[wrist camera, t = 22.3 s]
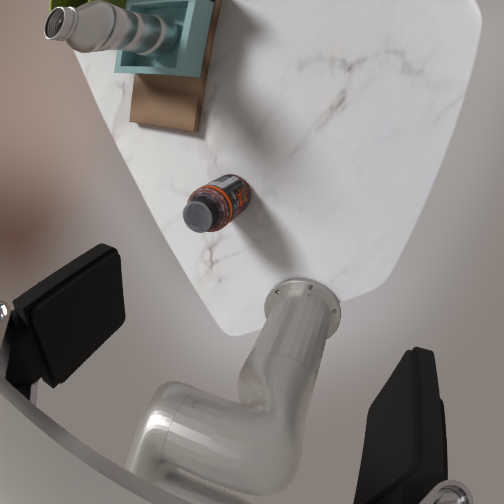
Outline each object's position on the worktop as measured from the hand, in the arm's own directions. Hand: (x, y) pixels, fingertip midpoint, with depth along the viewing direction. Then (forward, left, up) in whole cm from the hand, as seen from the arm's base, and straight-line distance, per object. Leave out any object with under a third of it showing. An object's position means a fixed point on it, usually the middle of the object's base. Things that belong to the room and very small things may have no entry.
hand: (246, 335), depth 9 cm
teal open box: (+12, +27, -34) cm, 45 cm away
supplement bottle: (-9, +14, -36) cm, 40 cm away
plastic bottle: (+12, +27, -33) cm, 45 cm away
